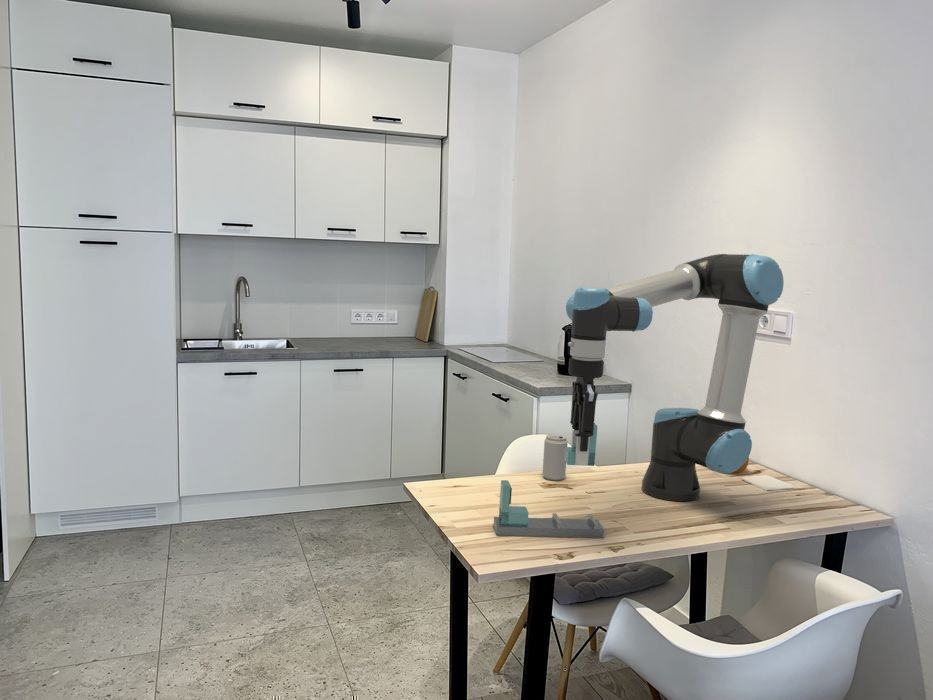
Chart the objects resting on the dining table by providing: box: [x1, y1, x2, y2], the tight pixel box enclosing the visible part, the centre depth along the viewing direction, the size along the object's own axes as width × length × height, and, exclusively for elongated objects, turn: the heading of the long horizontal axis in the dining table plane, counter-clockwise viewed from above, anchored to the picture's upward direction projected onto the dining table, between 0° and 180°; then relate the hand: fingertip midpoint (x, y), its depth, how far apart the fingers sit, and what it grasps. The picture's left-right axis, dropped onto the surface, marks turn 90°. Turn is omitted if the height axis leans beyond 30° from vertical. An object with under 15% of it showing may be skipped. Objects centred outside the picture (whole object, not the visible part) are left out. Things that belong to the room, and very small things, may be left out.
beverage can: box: [542, 433, 569, 482], centre depth 203 cm, size 6×6×12 cm
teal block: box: [564, 422, 598, 467], centre depth 161 cm, size 6×4×9 cm, turn 94°
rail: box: [492, 479, 605, 539], centre depth 163 cm, size 24×6×11 cm, turn 94°
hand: (578, 461), depth 162 cm, fingers closed on teal block, 4 cm apart
